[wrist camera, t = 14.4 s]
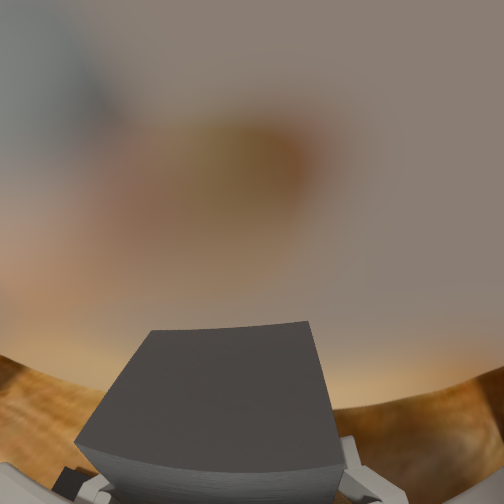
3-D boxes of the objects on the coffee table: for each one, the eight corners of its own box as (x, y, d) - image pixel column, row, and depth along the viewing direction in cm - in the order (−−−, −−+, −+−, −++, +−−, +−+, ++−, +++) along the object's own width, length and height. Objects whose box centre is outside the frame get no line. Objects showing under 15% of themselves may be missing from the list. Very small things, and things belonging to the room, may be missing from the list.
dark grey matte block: (312, 553, 6) (345, 463, 3) (201, 552, 7) (73, 442, 4) (306, 478, 12) (308, 321, 9) (214, 481, 12) (151, 330, 10)
